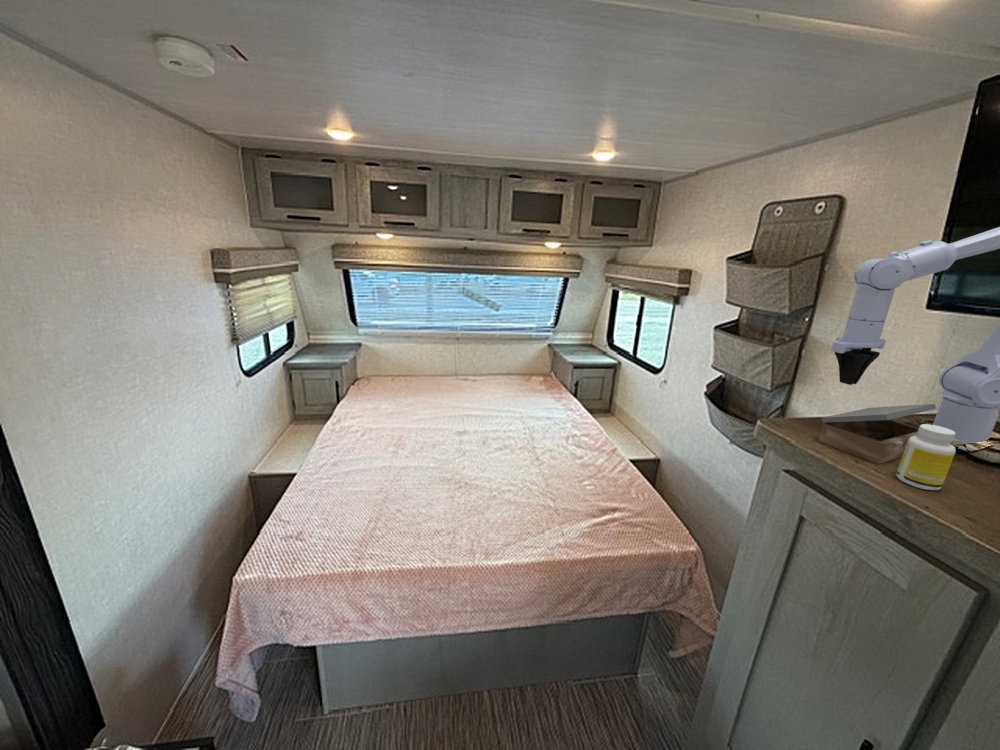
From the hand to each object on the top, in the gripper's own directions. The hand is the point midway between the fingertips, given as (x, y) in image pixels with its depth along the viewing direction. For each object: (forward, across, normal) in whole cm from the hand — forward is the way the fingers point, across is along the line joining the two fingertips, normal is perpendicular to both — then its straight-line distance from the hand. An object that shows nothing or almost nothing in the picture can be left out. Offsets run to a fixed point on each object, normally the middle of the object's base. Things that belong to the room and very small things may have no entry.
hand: (847, 383), depth 85 cm
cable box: (+10, +3, +8) cm, 13 cm away
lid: (+4, +3, +8) cm, 9 cm away
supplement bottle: (+11, +12, +19) cm, 25 cm away
